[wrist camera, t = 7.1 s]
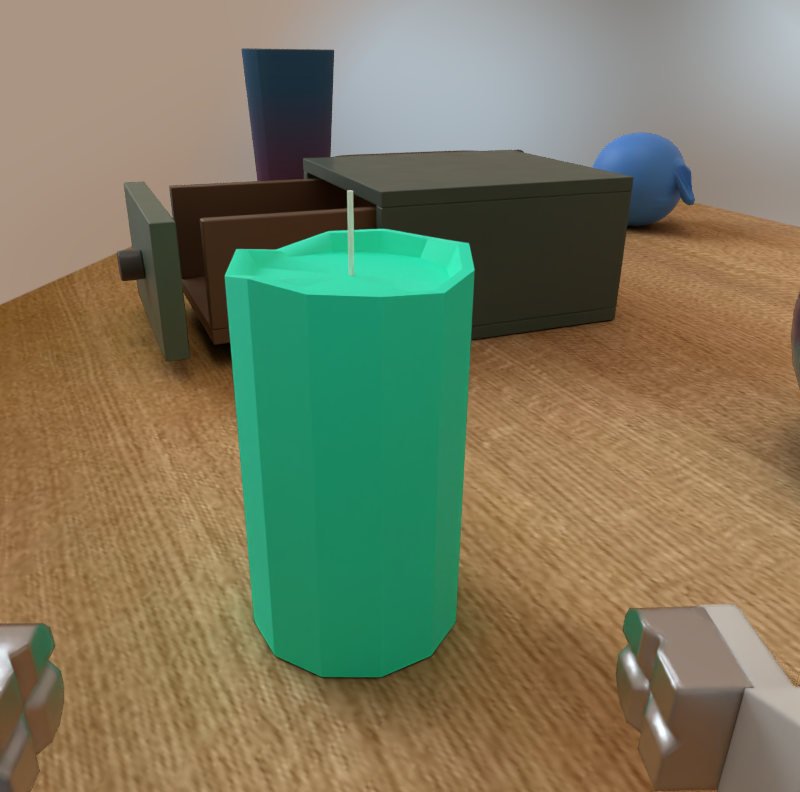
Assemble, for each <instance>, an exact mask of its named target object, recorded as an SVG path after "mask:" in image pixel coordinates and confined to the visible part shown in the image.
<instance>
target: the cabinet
mask: <svg viewBox="0 0 800 792" xmlns="http://www.w3.org/2000/svg"><path fill="white" fill-rule="evenodd" d="M303 170H304V179H313V178H320V179H322V180H325V181H327V182H329V183H331V184H333V185H335V186H337V187H339V188H342V189H344V190H346V191H348V190H352V191H353V194H354V195H356V196H359V197H361V198H363V199H365V200H367V201H369V202H371V203H373V204H376V205H378V206H377V229H390V230H395V231H401V232H406V233H412V234H418V235H423V236H429V237H435V238H441V239H446V240H452V241H458V242H464V243H469V245H470V250H471V255H472V260H473V264H474V269H475V273H474V292H473V310H472V329H471V340H473V339H480V338H487V337H494V336H501V335H508V334H515V333H522V332H529V331H536V330H543V329H550V328H557V327H564V326H571V325H578V324H585V323H592V322H599V321H606V320H613V319H615V311H616V308H615V307H616V304H617V297H618V289H619V282H620V275H621V267H622V260H623V253H624V245H625V238H626V231H627V223H628V216H629V209H630V201H631V194H632V192H631V191H632V187H633V180H634V177H632V176H627V175H623V174H618V173H614V172H609V171H605V170H600V169H596V168H591V167H586V166H581V165H577V164H573V163H568V162H564V161H559V160H555V159H550V158H546V157H541V156H536V155H532V154H527V153H523V152H518V151H514V150H496V151H471V152H446V153H421V154H396V155H371V156H346V157H321V158H303Z"/></svg>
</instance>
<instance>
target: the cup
mask: <svg viewBox="0 0 800 792" xmlns="http://www.w3.org/2000/svg"><path fill="white" fill-rule="evenodd" d="M242 57H243V65H244V73H245V82H246V90H247V97H248V106H249V114H250V122H251V131H252V139H253V147H254V155H255V163H256V171H257V180H258V181H273V180H293V179H304V170H303V158H321V157H330V152H331V151H330V150H331V123H332V95H333V66H334V64H333V63H334V50H315V49H249V48H245V49H244V48H243V49H242Z"/></svg>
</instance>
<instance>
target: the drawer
mask: <svg viewBox="0 0 800 792" xmlns="http://www.w3.org/2000/svg"><path fill="white" fill-rule="evenodd" d="M169 188H170V197H171V206H172V215H173V218H172V217H171V216H170V214H169V213H168V212H167V211H166V209H165V208H164V207H163V206H162V204H161V203H160V202H159V200H158V199H157V198H156V196H155V195H154V194H153V192H152V191H151V190H150V189H149V187H148V186H147V185H146V184H145V182H127V183H124V190H125V197H126V205H127V211H128V219H129V227H130V234H131V241H132V249H133V250H123V251H118V252H117V257H118V265H119V271H120V276H121V280H122V281H129V280H137V286H138V293H139V296H140V298H141V301H142V303H143V306H144V308H145V311H146V313H147V316H148V318H149V321H150V323H151V326H152V328H153V331H154V333H155V336H156V338H157V341H158V343H159V345H160V348H161V350H162V353H163V355H164V358H165V360H166V361H175V360H182V359H189V358H190V350H189V340H188V331H187V322H186V313H185V304H184V295H183V293H184V294H185V296H186V298H187V299H188V301H189V303H190V304H191V306H192V308H193V310H194V311H195V313H196V315H197V316H198V318H199V320H200V322H201V323H202V325H203V327H204V328H205V330H206V332H207V334H208V335H209V337H210V339H211V340H212V342H213V344H214V345H216V344H224V343H230V333H229V321H228V310H227V298H226V286H225V274H226V272H227V269H228V267H229V265H230V262H231V260H232V258H233V255H234V253H235V251H236V249H268V250H276V249H279V248H282V247H285V246H287V245H290V244H293V243H296V242H299V241H302V240H304V239H307V238H310V237H313V236H316V235H318V234H321V233H324V232H327V231H341V230H348V215H347V191H346V190H344V189H342V188H339V187H337V186H335V185H333V184H331V183H329V182H327V181H325V180H322V179H320V178H313V179H293V180H273V181H253V182H233V183H214V184H195V185H175V186H170V187H169ZM377 206H378V205H376V204H373V203H371V202H369V201H367V200H365V199H363V198H361V197H359V196H356V195H354V194H353V210H354V230H364V229H377Z"/></svg>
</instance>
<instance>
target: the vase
mask: <svg viewBox="0 0 800 792" xmlns="http://www.w3.org/2000/svg"><path fill="white" fill-rule="evenodd" d="M791 348H792V363H793V367H794V371H795V374H796V378H797V382H798V385H799V389H800V292H799V295H798V298H797V301H796V305H795V308H794V313H793V322H792V331H791Z"/></svg>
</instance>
